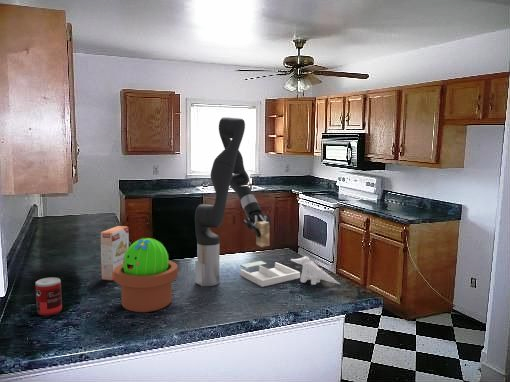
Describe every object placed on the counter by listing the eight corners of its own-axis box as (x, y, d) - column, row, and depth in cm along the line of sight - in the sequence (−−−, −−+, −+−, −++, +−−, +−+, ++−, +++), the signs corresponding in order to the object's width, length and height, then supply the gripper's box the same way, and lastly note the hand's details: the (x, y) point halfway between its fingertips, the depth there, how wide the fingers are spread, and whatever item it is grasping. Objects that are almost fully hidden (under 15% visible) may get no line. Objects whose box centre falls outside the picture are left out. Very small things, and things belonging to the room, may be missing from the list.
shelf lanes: (262, 289, 167) (262, 280, 167) (239, 277, 181) (240, 269, 181) (299, 280, 178) (300, 272, 178) (276, 269, 192) (276, 262, 192)
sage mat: (254, 272, 188) (254, 271, 188) (240, 265, 198) (240, 264, 198) (275, 268, 195) (275, 267, 195) (261, 261, 204) (261, 260, 204)
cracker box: (114, 281, 174) (112, 232, 172) (101, 280, 176) (99, 232, 173) (130, 270, 188) (129, 225, 185) (118, 269, 189) (116, 225, 187)
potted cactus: (147, 288, 167) (145, 227, 164) (189, 299, 156) (188, 234, 153) (102, 306, 148) (99, 239, 145) (147, 321, 137) (145, 247, 134)
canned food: (42, 307, 147) (40, 277, 146) (65, 306, 148) (64, 277, 147) (32, 316, 140) (31, 285, 138) (57, 315, 140) (55, 284, 139)
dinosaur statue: (292, 274, 183) (295, 250, 181) (342, 292, 169) (346, 266, 167) (284, 278, 177) (287, 254, 175) (335, 297, 164) (339, 270, 162)
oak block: (261, 247, 189) (261, 223, 187) (256, 244, 193) (255, 221, 191) (269, 245, 191) (269, 222, 190) (264, 243, 195) (264, 220, 193)
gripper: (240, 202, 192) (254, 233, 184) (266, 200, 200) (280, 229, 191) (235, 212, 197) (248, 242, 189) (259, 209, 205) (273, 238, 196)
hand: (264, 235), depth 190 cm, fingers closed on oak block, 4 cm apart
